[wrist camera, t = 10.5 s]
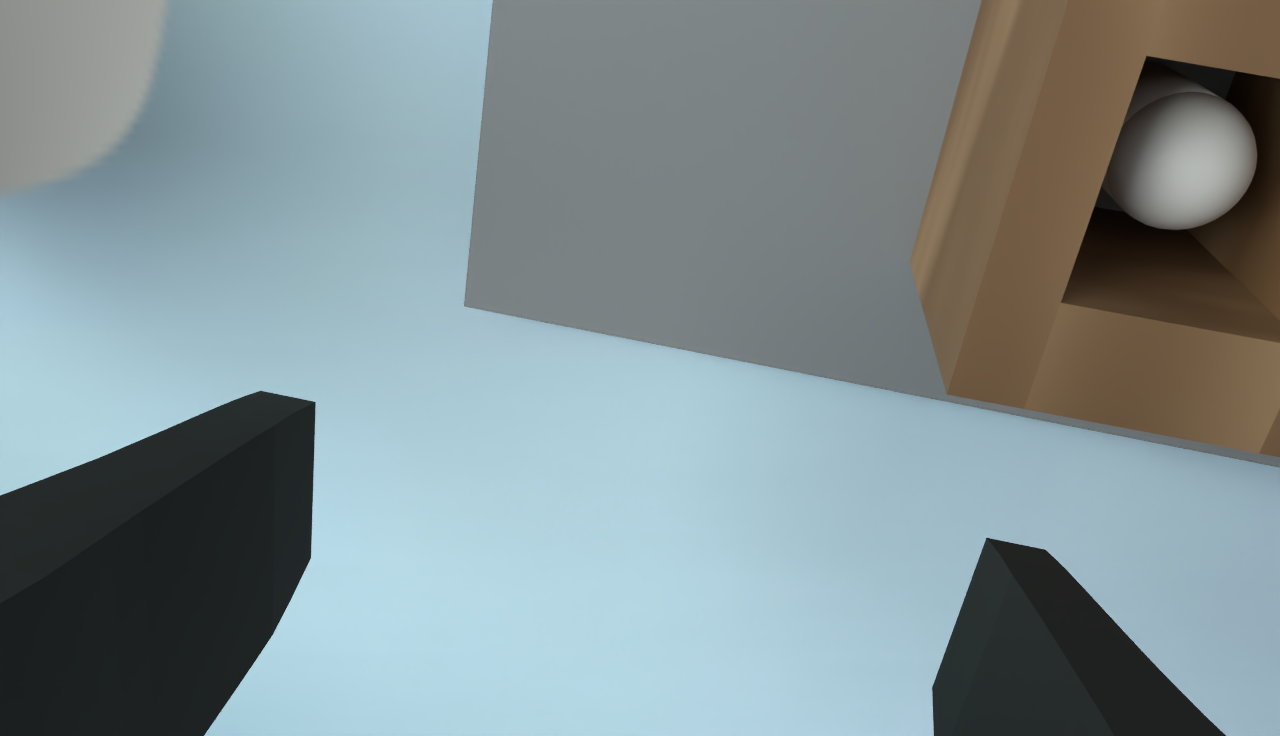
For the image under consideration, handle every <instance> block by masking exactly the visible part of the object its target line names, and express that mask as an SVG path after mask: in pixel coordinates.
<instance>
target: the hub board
mask: <svg viewBox="0 0 1280 736" xmlns="http://www.w3.org/2000/svg"><path fill="white" fill-rule="evenodd" d="M981 1H982V0H493V6H492V16H491V27H490V38H489V48H488V59H487V69H486V80H485V91H484V101H483V112H482V122H481V133H480V144H479V154H478V165H477V175H476V186H475V196H474V207H473V218H472V228H471V239H470V249H469V260H468V271H467V281H466V292H465V302H464V306H465V307H470V308H475V309H480V310H486V311H491V312H496V313H501V314H506V315H511V316H516V317H521V318H526V319H531V320H536V321H541V322H546V323H551V324H556V325H562V326H567V327H572V328H577V329H582V330H587V331H592V332H597V333H602V334H607V335H612V336H617V337H622V338H627V339H632V340H637V341H643V342H648V343H653V344H658V345H663V346H668V347H673V348H678V349H683V350H688V351H693V352H698V353H703V354H708V355H713V356H718V357H724V358H729V359H734V360H739V361H744V362H749V363H754V364H759V365H764V366H769V367H774V368H779V369H784V370H789V371H794V372H800V373H805V374H810V375H815V376H820V377H825V378H830V379H835V380H840V381H845V382H850V383H855V384H860V385H865V386H870V387H875V388H881V389H886V390H891V391H896V392H901V393H906V394H911V395H916V396H921V397H926V398H931V399H936V400H941V401H946V402H951V403H956V404H962V405H967V406H972V407H977V408H982V409H987V410H992V411H997V412H1002V413H1007V414H1012V415H1017V416H1022V417H1027V418H1032V419H1038V420H1043V421H1048V422H1053V423H1058V424H1063V425H1068V426H1073V427H1078V428H1083V429H1088V430H1093V431H1098V432H1103V433H1108V434H1113V435H1119V436H1124V437H1129V438H1134V439H1139V440H1144V441H1149V442H1154V443H1159V444H1164V445H1169V446H1174V447H1179V448H1184V449H1189V450H1194V451H1200V452H1205V453H1210V454H1215V455H1220V456H1225V457H1230V458H1235V459H1240V460H1245V461H1250V462H1255V463H1260V464H1265V465H1270V466H1276V467H1280V457H1275V456H1270V455H1265V454H1259V453H1254V452H1249V451H1243V450H1238V449H1233V448H1228V447H1222V446H1217V445H1212V444H1206V443H1201V442H1196V441H1190V440H1185V439H1180V438H1175V437H1169V436H1164V435H1159V434H1153V433H1148V432H1143V431H1137V430H1132V429H1127V428H1122V427H1116V426H1111V425H1106V424H1100V423H1095V422H1090V421H1084V420H1079V419H1074V418H1068V417H1063V416H1058V415H1053V414H1047V413H1042V412H1037V411H1031V410H1026V409H1021V408H1015V407H1010V406H1005V405H1000V404H994V403H989V402H984V401H978V400H973V399H968V398H962V397H957V396H952V395H947V394H946V390H945V387H944V383H943V380H942V376H941V373H940V369H939V365H938V362H937V358H936V355H935V351H934V348H933V344H932V341H931V337H930V333H929V330H928V326H927V323H926V319H925V316H924V312H923V309H922V305H921V301H920V298H919V294H918V291H917V287H916V284H915V280H914V277H913V273H912V269H911V266H910V259H911V255H912V252H913V248H914V245H915V241H916V237H917V234H918V230H919V226H920V223H921V219H922V215H923V212H924V208H925V205H926V201H927V197H928V194H929V190H930V186H931V183H932V179H933V176H934V172H935V168H936V165H937V161H938V157H939V154H940V150H941V146H942V143H943V139H944V136H945V132H946V128H947V125H948V121H949V117H950V114H951V110H952V107H953V103H954V99H955V96H956V92H957V88H958V85H959V81H960V77H961V74H962V70H963V67H964V63H965V59H966V56H967V52H968V48H969V45H970V41H971V37H972V34H973V30H974V27H975V23H976V19H977V16H978V12H979V8H980V5H981ZM1235 73H1236V71H1232V70H1226V69H1221V68H1215V67H1209V66H1203V65H1197V64H1192V63H1186V62H1180V61H1174V60H1169V59H1163V58H1157V57H1151V56H1146V59H1145V61H1144V64H1143V67H1142V70H1141V73H1140V76H1139V79H1138V82H1137V85H1136V87H1135V90H1134V93H1133V96H1132V99H1131V102H1130V105H1129V108H1128V110H1127V113H1126V116H1125V119H1124V122H1123V125H1122V128H1121V131H1120V134H1119V136H1118V139H1117V142H1116V145H1115V148H1114V151H1113V154H1112V157H1111V160H1110V162H1109V165H1108V168H1107V171H1106V174H1105V177H1104V180H1103V183H1102V185H1101V188H1100V191H1099V194H1098V197H1097V200H1096V203H1095V206H1094V207H1100V208H1105V209H1111V210H1116V211H1122V212H1126V213H1127V214H1129V215H1130V216H1131V217H1133V218H1134V219H1136V220H1138V221H1140V222H1142V223H1144V224H1145V225H1149V226H1152V227H1155V228H1160V229H1171V230H1181V229H1191V228H1194V227H1198V226H1202V225H1205V224H1207V223H1209V222H1211V221H1214V220H1216V219H1217V218H1219V217H1220V216H1222V215H1223V214H1225V213H1227V212H1228V211H1229V210H1230V209H1231V208H1232V207H1233V206H1234V205H1235V204H1237V203H1238V201H1239V200H1240V199H1241V198H1242V196H1243V195H1244V194H1245V192H1246V191H1247V189H1248V187H1249V185H1250V183H1251V181H1252V179H1253V176H1254V173H1255V170H1256V164H1257V148H1256V141H1255V137H1254V134H1253V131H1252V129H1251V126H1250V125H1249V123H1248V122H1247V120H1246V119H1245V117H1244V116H1243V115H1242V114H1241V113H1240V112H1239V111H1238V110H1237V108H1235V107H1234V106H1233V105H1232V104H1231V103H1229V102H1227V101H1226V100H1225V99H1226V96H1227V94H1228V91H1229V88H1230V86H1231V83H1232V81H1233V78H1234V75H1235Z"/></svg>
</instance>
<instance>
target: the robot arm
mask: <svg viewBox="0 0 1280 736" xmlns="http://www.w3.org/2000/svg"><path fill="white" fill-rule="evenodd" d="M314 435H315V402H313V401H308V400H303V399H298V398H293V397H288V396H283V395H278V394H273V393H268V392H263V391H259V392H256V393H253V394H250V395H247V396H244V397H241V398H239V399H236V400H234V401H231V402H229V403H226V404H224V405H221V406H219V407H217V408H214V409H212V410H210V411H207V412H205V413H203V414H200V415H198V416H196V417H193V418H191V419H189V420H186V421H184V422H182V423H180V424H177V425H175V426H173V427H170V428H168V429H166V430H164V431H161V432H159V433H156V434H154V435H152V436H149V437H147V438H145V439H142V440H140V441H138V442H135V443H133V444H131V445H128V446H126V447H124V448H121V449H119V450H117V451H114V452H112V453H110V454H107V455H105V456H103V457H100V458H98V459H95V460H93V461H90V462H87V463H85V464H82V465H80V466H77V467H74V468H72V469H69V470H66V471H64V472H61V473H59V474H56V475H53V476H51V477H48V478H45V479H43V480H40V481H38V482H35V483H32V484H30V485H27V486H25V487H22V488H19V489H17V490H14V491H11V492H9V493H6V494H3V495H1V496H0V736H204V735H205V733H206V732H207V730H208V729H209V728H210V726H211V725H212V723H213V722H214V720H215V719H216V717H217V716H218V715H219V713H220V712H221V710H222V709H223V707H224V706H225V704H226V703H227V701H228V700H229V699H230V697H231V696H232V694H233V693H234V691H235V690H236V688H237V687H238V685H239V684H240V682H241V681H242V680H243V678H244V677H245V675H246V674H247V672H248V671H249V669H250V668H251V666H252V665H253V663H254V662H255V660H256V659H257V657H258V656H259V654H260V653H261V651H262V650H263V648H264V647H265V645H266V644H267V642H268V641H269V639H270V638H271V636H272V635H273V633H274V631H275V629H276V627H277V625H278V623H279V621H280V619H281V618H282V616H283V614H284V612H285V610H286V608H287V606H288V604H289V602H290V600H291V598H292V596H293V594H294V592H295V590H296V588H297V586H298V583H299V581H300V579H301V577H302V575H303V573H304V571H305V569H306V567H307V565H308V563H309V561H310V559H311V536H312V502H313V469H314ZM932 691H933V721H934V736H1226V735H1225V734H1224V733H1223V732H1221V731H1220V730H1219V729H1218V728H1217V727H1216V726H1215V725H1214V724H1213V723H1212V722H1211V721H1210V720H1209V719H1208V718H1207V717H1206V716H1205V715H1204V714H1203V713H1202V712H1201V711H1200V710H1199V709H1198V708H1197V707H1196V706H1195V705H1194V704H1193V703H1192V702H1191V701H1190V700H1189V699H1188V698H1187V697H1186V696H1185V695H1184V694H1183V693H1182V692H1181V691H1180V690H1179V689H1178V688H1177V687H1176V686H1175V685H1174V684H1173V683H1172V682H1171V681H1170V680H1169V679H1168V678H1167V677H1166V676H1165V675H1164V674H1163V673H1162V672H1161V671H1160V670H1159V669H1158V668H1157V667H1156V665H1155V664H1154V663H1153V662H1152V661H1151V660H1150V659H1149V658H1148V657H1147V656H1146V655H1145V654H1144V653H1143V652H1142V651H1141V650H1140V649H1139V648H1138V646H1137V645H1136V644H1135V643H1134V642H1133V641H1132V640H1131V639H1130V638H1129V637H1128V636H1127V635H1126V634H1125V633H1124V631H1123V630H1122V629H1121V628H1120V627H1119V626H1118V625H1117V624H1116V623H1115V622H1114V621H1113V620H1112V618H1111V617H1110V616H1109V615H1108V614H1107V613H1106V612H1105V611H1104V610H1103V609H1102V608H1101V607H1100V605H1099V604H1098V603H1097V602H1096V601H1095V600H1094V599H1093V598H1092V597H1091V596H1090V595H1089V594H1088V592H1087V591H1086V590H1085V589H1084V588H1083V587H1082V586H1081V585H1080V584H1079V583H1078V582H1077V581H1076V580H1075V579H1074V578H1073V576H1072V575H1071V574H1070V573H1069V572H1068V571H1067V570H1066V569H1065V568H1064V567H1063V566H1062V565H1061V564H1060V563H1059V562H1058V561H1057V560H1056V559H1055V558H1054V557H1053V556H1051V555H1050V554H1049V553H1048V552H1047V551H1046V550H1044V549H1039V548H1034V547H1029V546H1024V545H1019V544H1014V543H1009V542H1004V541H999V540H994V539H990V538H986V541H985V544H984V546H983V549H982V552H981V555H980V557H979V560H978V563H977V566H976V569H975V571H974V574H973V577H972V580H971V582H970V585H969V588H968V591H967V593H966V596H965V599H964V602H963V604H962V607H961V610H960V613H959V615H958V618H957V621H956V624H955V626H954V629H953V632H952V635H951V638H950V640H949V643H948V646H947V649H946V651H945V654H944V657H943V660H942V662H941V665H940V668H939V671H938V673H937V676H936V679H935V682H934V684H933V687H932Z"/></svg>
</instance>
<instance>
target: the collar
mask: <svg viewBox="0 0 1280 736" xmlns="http://www.w3.org/2000/svg"><path fill="white" fill-rule="evenodd" d="M1146 56H1151V57H1157V58H1163V59H1169V60H1174V61H1180V62H1186V63H1192V64H1197V65H1203V66H1209V67H1215V68H1221V69H1226V70H1232V71H1236V73H1235V75H1234V78H1233V81H1232V83H1231V86H1230V88H1229V91H1228V94H1227V96H1226V99H1225V100H1226V101H1227V102H1229V103H1231V104H1232V105H1233V106H1234V107H1235V108H1237V110H1238V111H1239V112H1240V113H1241V114H1242V115H1243V116H1244V117H1245V119H1246V120H1247V122H1248V123H1249V125H1250V126H1251V129H1252V131H1253V134H1254V137H1255V141H1256V148H1257V164H1256V170H1255V173H1254V176H1253V179H1252V181H1251V183H1250V185H1249V187H1248V189H1247V191H1246V192H1245V194H1244V195H1243V196H1242V198H1241V199H1240V200H1239V201H1238V203H1237V204H1235V205H1234V206H1233V207H1232V208H1231V209H1230V210H1229V211H1228V212H1227V213H1225V214H1223V215H1222V216H1220V217H1219V218H1217V219H1216V220H1214V221H1211V222H1209V223H1207V224H1205V225H1202V226H1198V227H1194V228H1191V229H1181V230H1171V229H1160V228H1155V227H1152V226H1149V225H1145V224H1144V223H1142V222H1140V221H1138V220H1136V219H1134V218H1133V217H1131V216H1130V215H1129V214H1127V213H1126V212H1122V211H1116V210H1111V209H1105V208H1100V207H1094V206H1095V203H1096V200H1097V197H1098V194H1099V191H1100V188H1101V185H1102V183H1103V180H1104V177H1105V174H1106V171H1107V168H1108V165H1109V162H1110V160H1111V157H1112V154H1113V151H1114V148H1115V145H1116V142H1117V139H1118V136H1119V134H1120V131H1121V128H1122V125H1123V122H1124V119H1125V116H1126V113H1127V110H1128V108H1129V105H1130V102H1131V99H1132V96H1133V93H1134V90H1135V87H1136V85H1137V82H1138V79H1139V76H1140V73H1141V70H1142V67H1143V64H1144V61H1145V59H1146ZM910 266H911V269H912V273H913V277H914V280H915V284H916V287H917V291H918V294H919V298H920V301H921V305H922V309H923V312H924V316H925V319H926V323H927V326H928V330H929V333H930V337H931V341H932V344H933V348H934V351H935V355H936V358H937V362H938V365H939V369H940V373H941V376H942V380H943V383H944V387H945V390H946V394H947V395H952V396H957V397H962V398H968V399H973V400H978V401H984V402H989V403H994V404H1000V405H1005V406H1010V407H1015V408H1021V409H1026V410H1031V411H1037V412H1042V413H1047V414H1053V415H1058V416H1063V417H1068V418H1074V419H1079V420H1084V421H1090V422H1095V423H1100V424H1106V425H1111V426H1116V427H1122V428H1127V429H1132V430H1137V431H1143V432H1148V433H1153V434H1159V435H1164V436H1169V437H1175V438H1180V439H1185V440H1190V441H1196V442H1201V443H1206V444H1212V445H1217V446H1222V447H1228V448H1233V449H1238V450H1243V451H1249V452H1254V453H1259V454H1265V455H1270V456H1275V457H1280V0H982V1H981V5H980V8H979V12H978V16H977V19H976V23H975V27H974V30H973V34H972V37H971V41H970V45H969V48H968V52H967V56H966V59H965V63H964V67H963V70H962V74H961V77H960V81H959V85H958V88H957V92H956V96H955V99H954V103H953V107H952V110H951V114H950V117H949V121H948V125H947V128H946V132H945V136H944V139H943V143H942V146H941V150H940V154H939V157H938V161H937V165H936V168H935V172H934V176H933V179H932V183H931V186H930V190H929V194H928V197H927V201H926V205H925V208H924V212H923V215H922V219H921V223H920V226H919V230H918V234H917V237H916V241H915V245H914V248H913V252H912V255H911V259H910Z"/></svg>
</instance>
